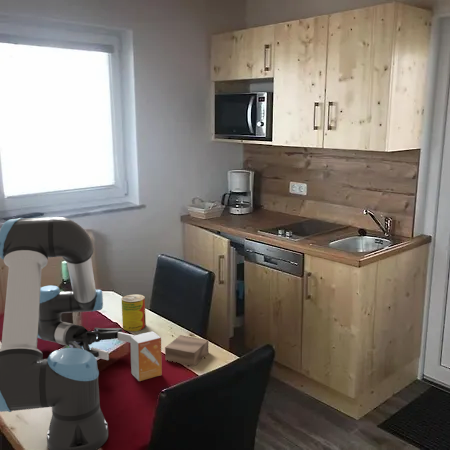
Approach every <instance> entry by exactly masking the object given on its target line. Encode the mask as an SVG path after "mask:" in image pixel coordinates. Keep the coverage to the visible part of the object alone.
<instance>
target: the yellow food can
mask: <svg viewBox="0 0 450 450" xmlns="http://www.w3.org/2000/svg"><path fill="white" fill-rule="evenodd" d="M145 297H146V296H145V295H143V294H138V293H133V294H126V295H123V296H122V297H121V313H122V314H121V316H122V320H121V321H122V330H124V331H127V332H139V331H142V330H144V329H146V326H147V324H146V323H147V322H146V298H145Z"/></svg>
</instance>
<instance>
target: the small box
mask: <svg viewBox="0 0 450 450" xmlns="http://www.w3.org/2000/svg"><path fill="white" fill-rule="evenodd" d="M162 361H163V360H162V337H161V336H159V334H157V333H156V332H154V331H153V330H151V331H148V332H143V333H139V334H136V335H135V334H134V336H131V337H130V367H131V369H130V370H131V371H130V373H131V374H132V376H133V377H134V379H136V380H137V381H138V382H141V381H145V380H148V379H152V378H156V377H159V376H162V373H163V372H162V371H163V370H162V369H163V367H162V366H163V365H162Z"/></svg>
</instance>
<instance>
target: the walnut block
mask: <svg viewBox="0 0 450 450" xmlns="http://www.w3.org/2000/svg"><path fill="white" fill-rule="evenodd" d="M164 350H165V352H164V355H165V361H167V360H168V361H167V362H172V361H173V362H172V363H176V362H177V363H178V364H181V365H187V366H192V367H196V365H197V364H198V363H200V362H201V360H203V359H204V358H205V357H206V356H207V355H208V354H209V340H208V339H205V338H198V337H192V336H189V335H188V336H186V335H181V334H180V335H179V336H177V337H175V338H174V340H173V341H171V342H170V343H168V344H167V345H166V346H165V348H164ZM177 363H176V364H177Z"/></svg>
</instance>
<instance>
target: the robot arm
mask: <svg viewBox="0 0 450 450" xmlns="http://www.w3.org/2000/svg"><path fill="white" fill-rule="evenodd" d="M93 255H94V244H93V241H92V239H91V236H90V235H89V233H88V232H87V230H86V229H84V227H82V226H81V225H80V224H78V222H75V221H74V220H71V219H70V218H67V217H63V216H55V217H35V218H31V217H30V218H24V217H19V218H12V219H8V220H6V221H4V222H3V224H2V226H1V227H0V259H1V260H3V263H4V265H5V266H6V267H8V271H7V272H8V274H7V284H6V293H5V294H6V295H5V306H4V315H3V325H2V336H1V345H0V346H1V347H0V413H3V412H4V413H5V412H8V413H12V412H15V411H17V412H18V411H23V410H24V411H25V410H34V409H43V408H51V412H52V415H51V419H50V423H49V427H48V430H47V433H46V445H47V448H48V450H98V449H100V448H101V447H102V446H103V445H104V444H105V443H106V442H107V440H108V439H109V426H108V422H107V421H106V418H105V416H104V414H103V411H102V409H101V404H100V401H101V400H100V388H99V387H100V385H99V375H100V371H99V369H98V361H97V359H102V360H106V361H109V360H110V358H109V357H110V356H109V350H104V349H100V348H97V347H91V348H90V346H91V345H92V344H93V343H99V342H101V341H104V340H106V341H107V340H115V339H117V340H118V341H122V342H126V343H130V337H131V336H135V334H131V333H130V334H129V333H127V332H126V333H125V332H123V328H122V327H121V328H120V327H119V328H117V327H114V328H113V327H111V328H110V327H109V328H107V327H106V328H103V327H102V328H100V327H94V328H93V331H91V330H88V329H87V328H86V327H85V326H83V325H79V324H75V323H71V322H66V321H62V314H70V313H87V312H92V313H93V312H97V311H101V310H103V308H104V299H103V297H104V295H103V291H102V290H101V289H96V282H95V275H94V269H93V260H92V257H93ZM57 257H58V258H62V259H63V260H64V261H65V262H66V265H67V271H68V275H69V280H70V284H71V289H72V290H69V291H61V290H60V287H59V286H57V285H51V284H50V285H45V286H41V285H42V270H43V268H45V267H46V266H48V262H49V258H57ZM38 339H41V340H42V341H48V342H52V343H56V344H60V345H63V346H67V347H65V348H59V349H55V350H53V351H52V352H51V353H49V355H48V357H47V358H43V357H44V355H43V352H42V351H41V350H40V349H38ZM80 346H81V347H80Z"/></svg>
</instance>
